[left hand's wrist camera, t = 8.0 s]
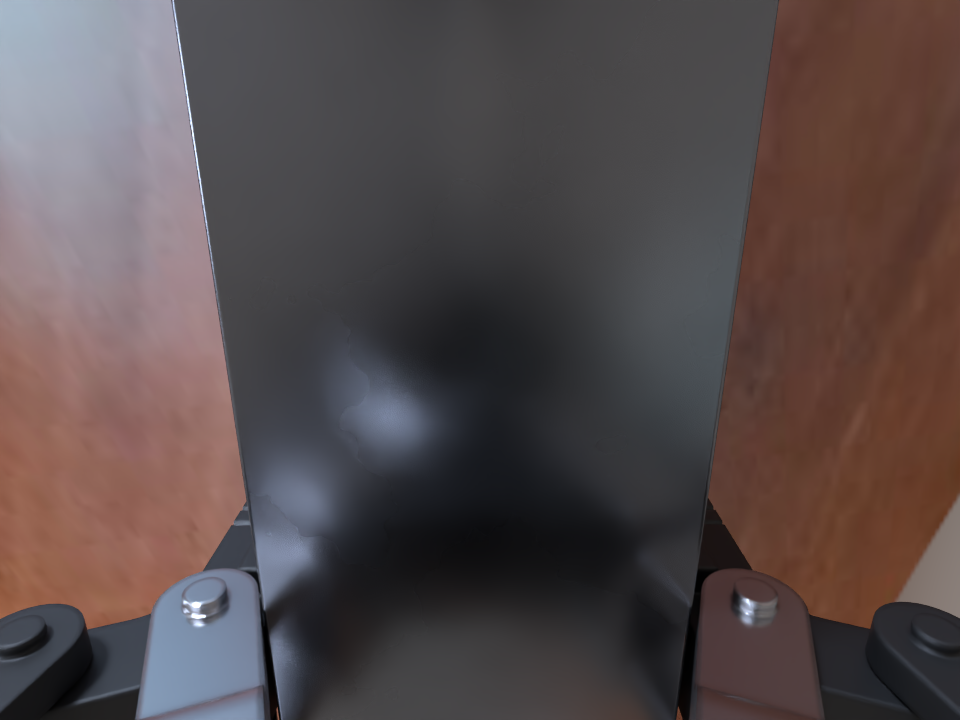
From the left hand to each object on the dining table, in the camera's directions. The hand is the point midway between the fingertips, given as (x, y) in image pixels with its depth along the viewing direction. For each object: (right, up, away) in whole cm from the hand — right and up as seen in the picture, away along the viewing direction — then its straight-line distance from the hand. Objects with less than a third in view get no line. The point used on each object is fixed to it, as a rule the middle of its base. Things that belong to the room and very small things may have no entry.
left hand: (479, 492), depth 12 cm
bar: (0, +9, +1) cm, 9 cm away
